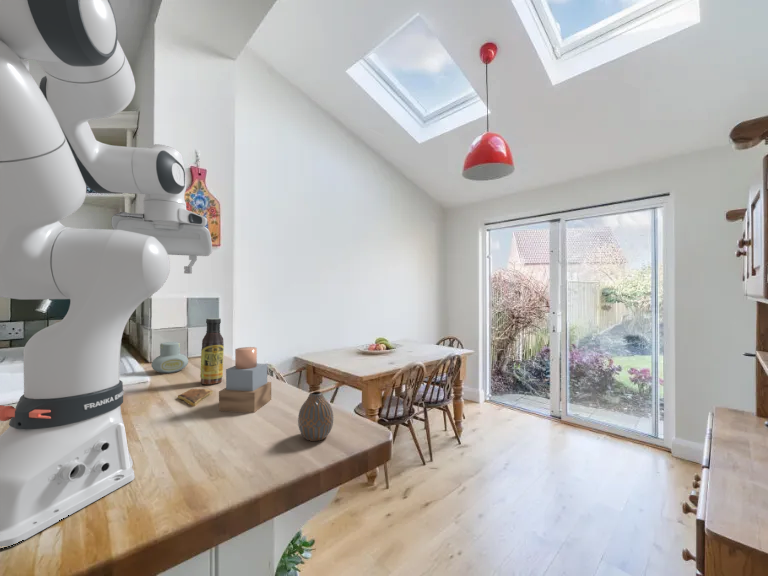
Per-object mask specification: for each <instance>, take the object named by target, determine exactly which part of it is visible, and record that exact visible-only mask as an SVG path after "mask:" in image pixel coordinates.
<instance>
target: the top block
mask: <svg viewBox="0 0 768 576" xmlns="http://www.w3.org/2000/svg"><path fill="white" fill-rule="evenodd" d="M267 382H268V363H258V362H257V366H256V367H254V368H249V369H237V368H235V365H234V366H231V367H228V368H226V369H225V388H226V390H238V391H254V390H256V389H258V388H259V387H261V386H263V385H265V384H266V383H267Z"/></svg>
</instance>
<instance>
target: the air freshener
mask: <svg viewBox="0 0 768 576" xmlns="http://www.w3.org/2000/svg"><path fill="white" fill-rule="evenodd" d="M159 346H160V347H159V349H160V350H159V351H160V352H159V354H160V355H159V356H156V357H155V358H153V360H152V362H151V368H152V369H153V370H154V371H155V372H156V373H161V374H174V372H175V373H178V372H180V371H181V370H183V369H185V368H186V367H187V365H188V364H189V358H188V357H187V356H186V355H184V354H183V353H181V343H180V342H179V341H165V342H162V343H160V344H159Z"/></svg>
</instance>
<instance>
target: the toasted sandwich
mask: <svg viewBox="0 0 768 576" xmlns="http://www.w3.org/2000/svg"><path fill="white" fill-rule="evenodd" d="M213 393H214V390H212V389H208V388H192V389H188V390H186V391H185V392H182V393H181V394H178V395H177V398H178V399H179V400H183V401H184V402H185V403H186V404H187V405H190V406H192V407H196V406H197V405H199V403H201V402H202V401H203V400H205V399H206V398H208V397H209V396H210V395H212V394H213Z"/></svg>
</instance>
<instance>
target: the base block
mask: <svg viewBox="0 0 768 576" xmlns="http://www.w3.org/2000/svg"><path fill="white" fill-rule="evenodd" d="M270 400H271V401H272V381H267V383H266V384H265V385H263V386H261V387H259V388H258V389H256V390H254V391H238V390H226V387H225V388H223V389H221V390H219V391H218V411H219V412H231V411H232V413H233V412H234V413H235V412H236V413H238V412H239V413H256V412H257V411H259V410H260V409H262V408H263V407H265V405H266V404H268V403H270V402H271V401H270Z"/></svg>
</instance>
